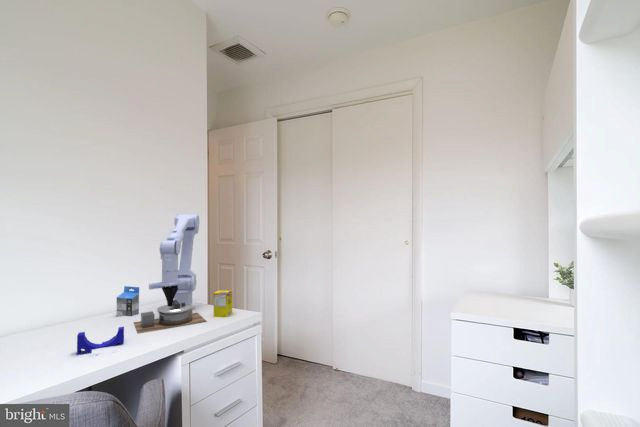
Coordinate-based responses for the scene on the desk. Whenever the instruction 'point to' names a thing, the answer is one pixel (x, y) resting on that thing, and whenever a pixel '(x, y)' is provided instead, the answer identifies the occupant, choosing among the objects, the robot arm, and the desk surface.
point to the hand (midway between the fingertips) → (169, 305)
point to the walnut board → (195, 320)
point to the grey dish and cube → (166, 319)
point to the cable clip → (88, 346)
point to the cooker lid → (174, 308)
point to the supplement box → (222, 303)
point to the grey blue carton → (128, 302)
